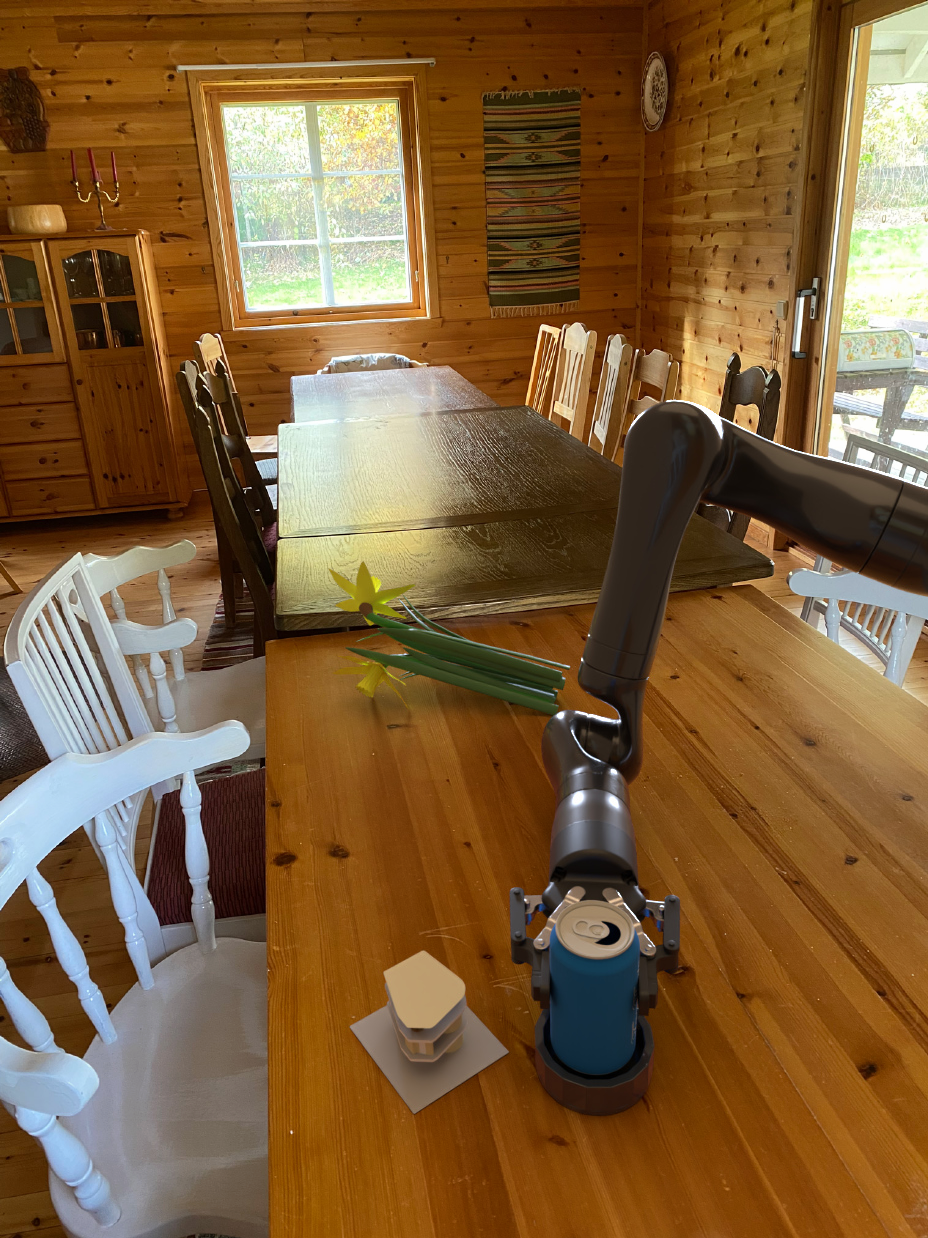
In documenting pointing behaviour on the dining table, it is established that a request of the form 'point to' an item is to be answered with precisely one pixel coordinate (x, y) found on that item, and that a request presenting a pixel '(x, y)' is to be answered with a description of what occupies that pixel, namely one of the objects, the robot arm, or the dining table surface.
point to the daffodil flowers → (443, 653)
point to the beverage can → (594, 987)
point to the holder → (595, 1090)
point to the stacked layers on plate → (426, 1032)
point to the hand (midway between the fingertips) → (594, 1004)
